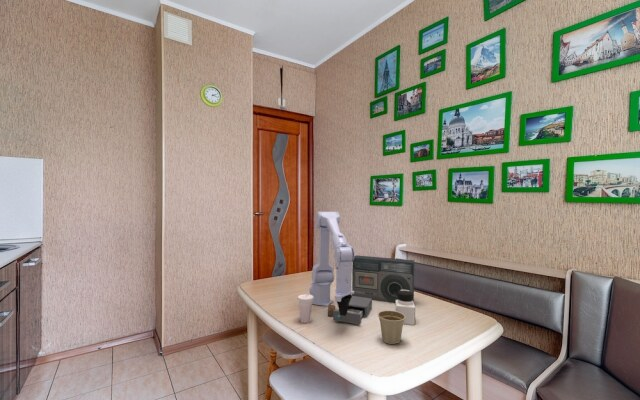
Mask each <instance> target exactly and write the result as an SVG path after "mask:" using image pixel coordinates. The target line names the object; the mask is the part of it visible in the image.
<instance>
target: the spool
mask: <svg viewBox="0 0 640 400" xmlns="http://www.w3.org/2000/svg"><path fill="white" fill-rule="evenodd" d="M333 310H337V308H336V305H335V304H329V305H328V306H327V317H329V318H333Z"/></svg>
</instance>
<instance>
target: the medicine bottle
mask: <svg viewBox="0 0 640 400" xmlns="http://www.w3.org/2000/svg"><path fill="white" fill-rule="evenodd" d="M414 302H415V301H414ZM414 302H413V293H412V292H411V291H408V290H400V291H398V298H397V300H396V303H395V310H394V311H397V312H400V313H402V314H404V315H405V320H404V323H403V325H409V326H410V325H411V326H415V325H416V305H415V303H414Z"/></svg>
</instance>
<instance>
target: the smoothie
mask: <svg viewBox="0 0 640 400" xmlns="http://www.w3.org/2000/svg"><path fill="white" fill-rule="evenodd" d="M297 300H298V308H299V317H300V318H299V319H300V322H301V323H305V324H307V323H310V322H311V316H312V315H311V314H312V311H313V310H312V308H313V304H312V303H313V300H314V296H312V295H310V293H309V294H308V286H307V285H305V293H304V294H299V295H298V296H297Z"/></svg>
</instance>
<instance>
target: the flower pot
mask: <svg viewBox="0 0 640 400" xmlns="http://www.w3.org/2000/svg"><path fill="white" fill-rule="evenodd" d="M377 316H378V319H379V325H380V332H381V340H382V341H384V342H385V343H387V344H389V345H396V344H399V343H400V342H401V339H402V333H403V325H404V324H403V323H404V320H405V315H404V314H402V313H400V312H397V311H395V310H382V311H379V312H377Z"/></svg>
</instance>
